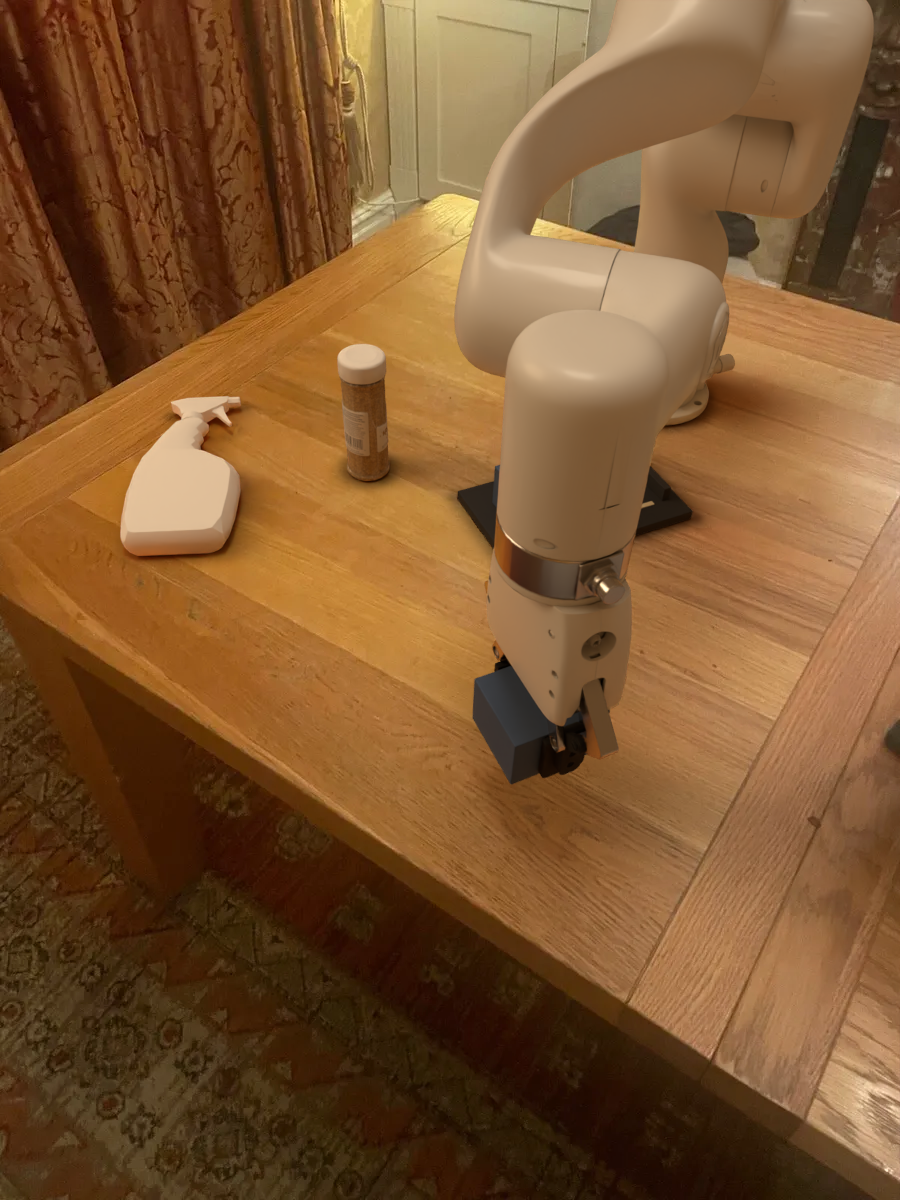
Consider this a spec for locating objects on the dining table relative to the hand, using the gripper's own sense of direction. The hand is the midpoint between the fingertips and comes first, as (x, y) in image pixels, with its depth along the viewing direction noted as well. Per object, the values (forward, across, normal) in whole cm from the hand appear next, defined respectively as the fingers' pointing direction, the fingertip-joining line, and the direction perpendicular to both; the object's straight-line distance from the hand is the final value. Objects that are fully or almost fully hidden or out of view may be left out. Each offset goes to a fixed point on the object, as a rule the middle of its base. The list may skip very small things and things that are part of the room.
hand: (536, 728), depth 63 cm
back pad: (+1, 0, 0) cm, 1 cm away
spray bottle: (+8, +47, +14) cm, 49 cm away
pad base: (+8, +27, -19) cm, 34 cm away
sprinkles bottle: (+8, +41, -3) cm, 41 cm away
